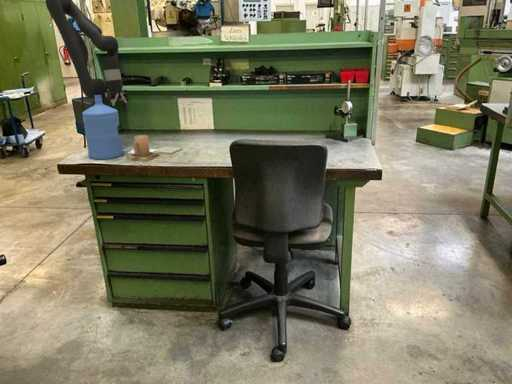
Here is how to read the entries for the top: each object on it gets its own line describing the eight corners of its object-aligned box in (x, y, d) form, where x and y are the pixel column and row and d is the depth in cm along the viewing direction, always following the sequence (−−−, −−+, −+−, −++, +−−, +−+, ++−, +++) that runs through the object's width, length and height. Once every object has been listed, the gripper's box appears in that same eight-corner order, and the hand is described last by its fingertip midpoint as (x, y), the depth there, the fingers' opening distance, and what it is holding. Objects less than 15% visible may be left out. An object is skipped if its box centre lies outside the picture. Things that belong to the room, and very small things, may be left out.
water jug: (105, 161, 186) (95, 98, 177) (81, 157, 194) (71, 96, 184) (130, 153, 199) (123, 94, 189) (107, 150, 206) (99, 92, 197)
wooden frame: (127, 159, 189) (126, 156, 188) (141, 153, 198) (141, 150, 197) (145, 161, 185) (145, 158, 185) (159, 155, 194) (159, 152, 193)
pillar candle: (131, 159, 188) (128, 138, 185) (142, 155, 195) (139, 134, 192) (141, 161, 186) (139, 139, 182) (152, 156, 193) (150, 135, 190)
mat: (153, 152, 200) (153, 151, 199) (165, 147, 208) (165, 146, 208) (171, 154, 196) (170, 152, 196) (182, 149, 204) (182, 147, 204)
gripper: (117, 78, 211) (123, 110, 216) (97, 80, 199) (103, 114, 204) (129, 77, 208) (134, 110, 213) (109, 79, 196) (115, 114, 201)
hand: (119, 112), depth 209 cm, fingers open, 8 cm apart
